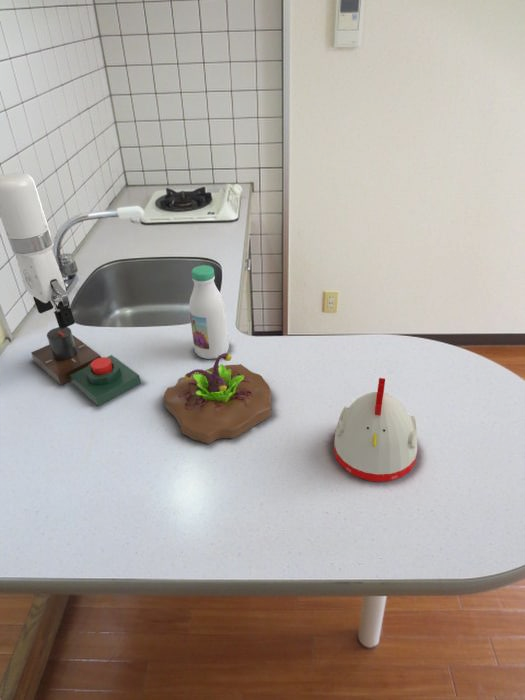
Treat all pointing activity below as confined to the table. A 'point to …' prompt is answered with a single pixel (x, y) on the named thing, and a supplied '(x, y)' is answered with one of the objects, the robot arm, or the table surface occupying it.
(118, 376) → the button box
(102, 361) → the button
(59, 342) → the lock knob
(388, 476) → the kitchen timer
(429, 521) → the table surface
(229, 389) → the plant
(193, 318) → the milk bottle
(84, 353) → the panel
